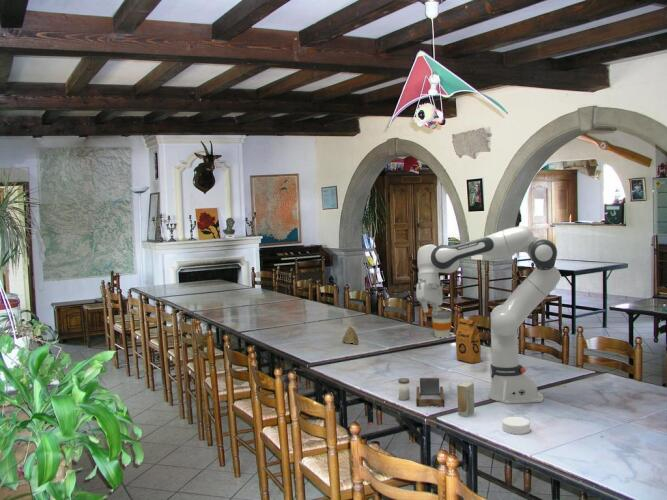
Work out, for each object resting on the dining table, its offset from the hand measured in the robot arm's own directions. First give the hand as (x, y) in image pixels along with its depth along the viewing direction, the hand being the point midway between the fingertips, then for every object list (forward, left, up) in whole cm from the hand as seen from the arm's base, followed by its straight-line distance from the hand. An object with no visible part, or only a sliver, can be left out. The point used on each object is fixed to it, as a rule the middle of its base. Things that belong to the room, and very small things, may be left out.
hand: (430, 313), depth 279 cm
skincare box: (-13, +21, -37) cm, 45 cm away
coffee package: (-20, -63, -37) cm, 76 cm away
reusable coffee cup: (-8, -124, -37) cm, 130 cm away
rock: (+47, -106, -37) cm, 122 cm away
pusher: (+1, -6, -37) cm, 37 cm away
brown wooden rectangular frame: (+1, +3, -37) cm, 37 cm away
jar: (+12, +2, -37) cm, 39 cm away
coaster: (-30, +38, -37) cm, 61 cm away
